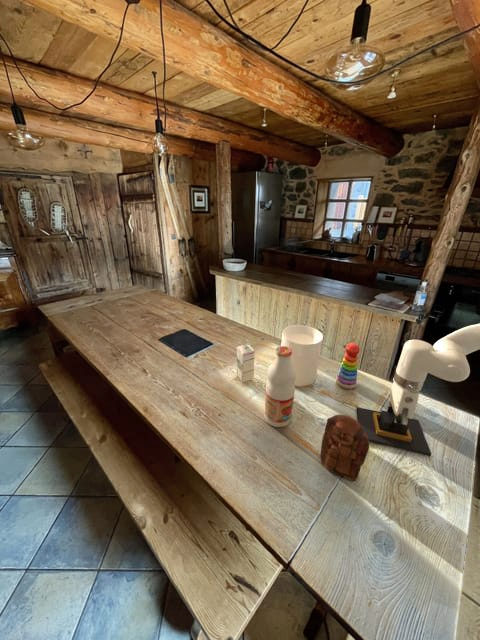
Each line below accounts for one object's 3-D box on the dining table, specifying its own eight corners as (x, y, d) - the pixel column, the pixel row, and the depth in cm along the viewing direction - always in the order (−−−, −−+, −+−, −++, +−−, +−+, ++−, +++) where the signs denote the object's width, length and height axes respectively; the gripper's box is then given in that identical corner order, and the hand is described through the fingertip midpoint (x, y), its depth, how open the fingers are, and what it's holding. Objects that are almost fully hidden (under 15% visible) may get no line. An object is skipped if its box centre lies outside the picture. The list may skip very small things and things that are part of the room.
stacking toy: (357, 381, 112) (367, 343, 103) (353, 392, 106) (363, 352, 97) (338, 375, 115) (346, 337, 107) (333, 385, 109) (341, 346, 101)
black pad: (402, 420, 89) (404, 414, 88) (406, 433, 84) (408, 427, 83) (379, 415, 91) (381, 410, 90) (382, 428, 86) (384, 422, 85)
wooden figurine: (314, 464, 78) (323, 418, 70) (321, 448, 82) (330, 404, 75) (356, 486, 72) (372, 440, 64) (361, 468, 77) (376, 422, 69)
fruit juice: (267, 404, 99) (272, 339, 87) (292, 411, 96) (301, 345, 84) (260, 423, 91) (265, 354, 79) (288, 431, 88) (297, 361, 76)
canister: (292, 390, 106) (298, 348, 97) (271, 368, 119) (274, 329, 110) (324, 380, 112) (331, 339, 103) (300, 360, 125) (306, 322, 116)
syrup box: (254, 379, 112) (255, 350, 106) (242, 383, 110) (242, 353, 103) (248, 371, 117) (249, 343, 110) (236, 375, 114) (236, 346, 108)
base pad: (417, 421, 92) (419, 416, 91) (430, 456, 80) (433, 450, 79) (356, 408, 98) (357, 403, 97) (359, 439, 86) (361, 433, 84)
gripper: (432, 401, 71) (412, 448, 79) (414, 365, 86) (399, 407, 94) (401, 395, 73) (385, 441, 81) (389, 361, 88) (376, 403, 96)
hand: (393, 423), depth 87 cm, fingers closed on black pad, 5 cm apart
